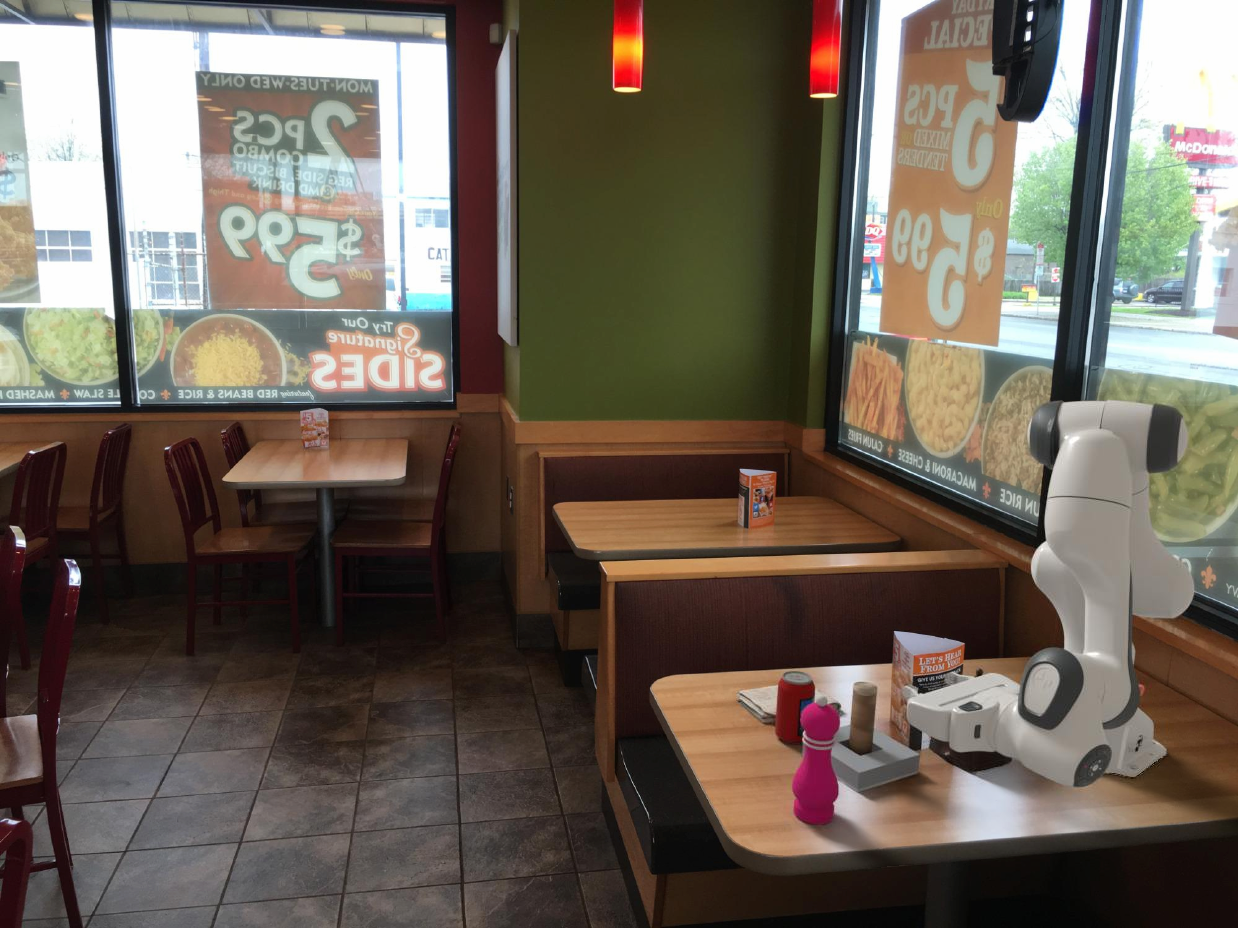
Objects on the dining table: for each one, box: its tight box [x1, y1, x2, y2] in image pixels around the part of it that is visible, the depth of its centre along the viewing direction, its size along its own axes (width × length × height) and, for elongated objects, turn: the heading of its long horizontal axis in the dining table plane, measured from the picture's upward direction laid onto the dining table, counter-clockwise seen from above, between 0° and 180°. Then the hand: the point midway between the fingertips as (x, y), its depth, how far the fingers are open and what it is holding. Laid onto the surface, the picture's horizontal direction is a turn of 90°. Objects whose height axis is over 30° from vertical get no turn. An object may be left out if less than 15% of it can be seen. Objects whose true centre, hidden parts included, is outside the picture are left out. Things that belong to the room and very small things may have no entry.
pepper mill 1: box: [791, 695, 841, 825], centre depth 149 cm, size 7×7×20 cm
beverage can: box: [774, 670, 816, 745], centre depth 175 cm, size 7×7×12 cm
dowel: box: [848, 681, 878, 756], centre depth 166 cm, size 4×4×14 cm
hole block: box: [801, 724, 921, 793], centre depth 167 cm, size 14×14×4 cm
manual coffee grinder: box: [928, 667, 1013, 773], centre depth 168 cm, size 16×11×18 cm
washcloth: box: [736, 684, 842, 724], centre depth 189 cm, size 12×18×3 cm, turn 114°
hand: (927, 683), depth 154 cm, fingers open, 8 cm apart
